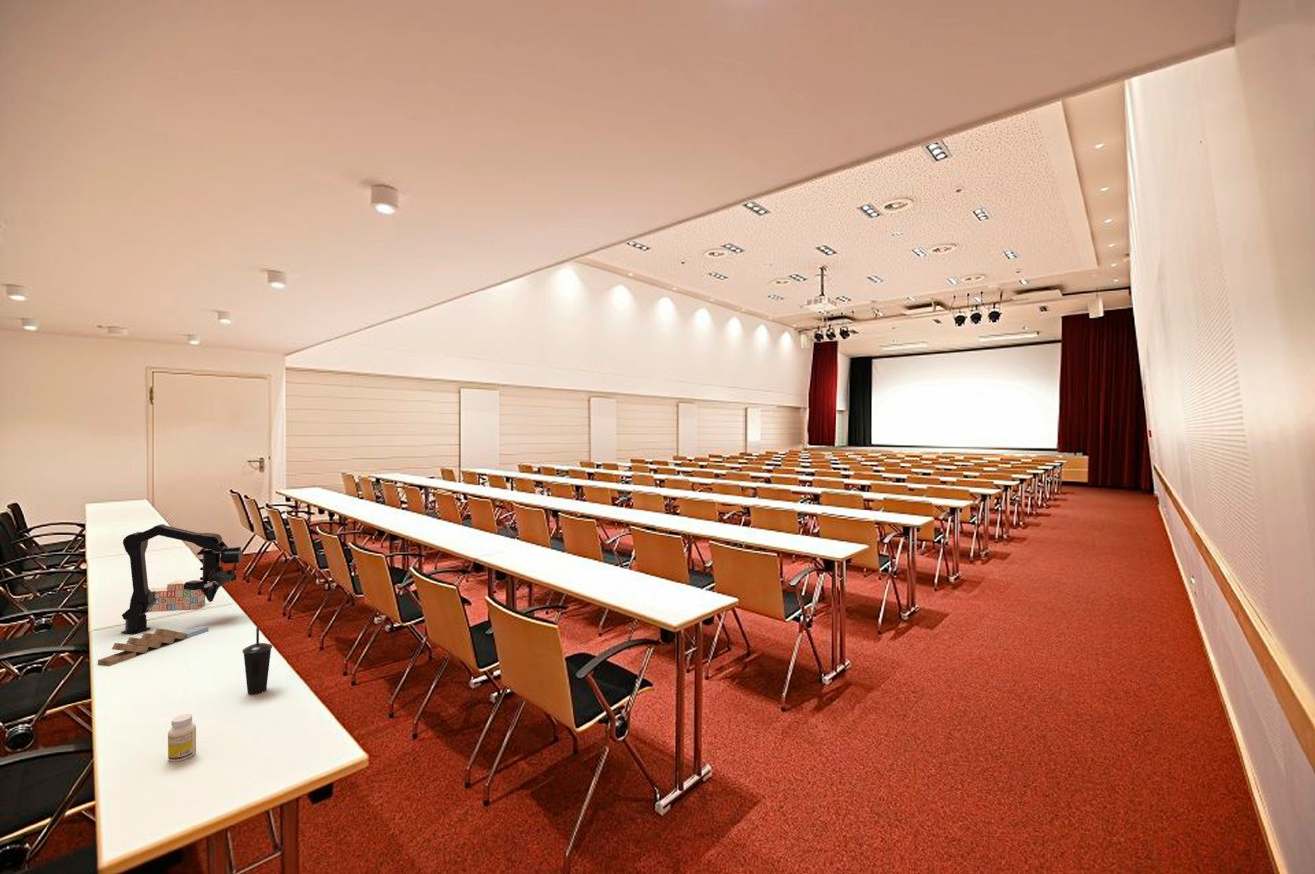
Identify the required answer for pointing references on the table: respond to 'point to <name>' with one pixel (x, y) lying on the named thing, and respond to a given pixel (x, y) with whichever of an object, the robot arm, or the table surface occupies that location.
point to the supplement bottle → (181, 738)
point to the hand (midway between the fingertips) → (210, 601)
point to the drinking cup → (257, 665)
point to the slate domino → (195, 631)
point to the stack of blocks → (177, 597)
